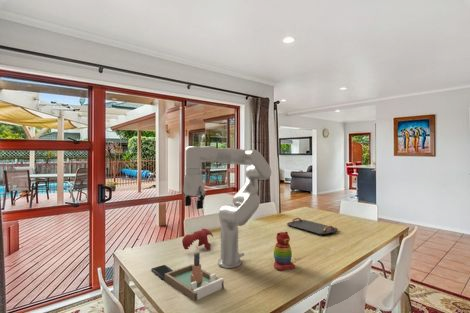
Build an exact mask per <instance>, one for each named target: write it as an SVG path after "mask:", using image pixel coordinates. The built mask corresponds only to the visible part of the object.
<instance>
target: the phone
mask: <svg viewBox="0 0 470 313" xmlns="http://www.w3.org/2000/svg"><path fill="white" fill-rule="evenodd" d="M150 270H151V272H152V273H153V274H154V273H155V274H154V275H156V276H157V277H158V278H159V279H160V278H161V279H160V280H162V281H163V280H164V281H165V279H164V274H165V273H168V272H171V271H174V270H173V269H171V267H169V266H167V265H166V264H163V265H158V266H155V267H152V268H151V269H150ZM165 282H166V281H165Z"/></svg>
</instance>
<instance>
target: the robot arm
mask: <svg viewBox="0 0 470 313" xmlns="http://www.w3.org/2000/svg"><path fill="white" fill-rule="evenodd" d="M202 162H210V163H220V164H228V165H243V166H247V167H246V169H245V182H244V184H243V185H242V186H241V188H240V189H239V190H238V191H237V192H236V193H235V194H234V196H233V198H232V204H231V203H230V204H226V203H225V204H224V205H222V206H221V207H220V208H219V211H218V218H219V224H220V258H219V259H218V260H217V264H218V266H219V267H221V268H224V269H233V268H234V269H235V268H238V267H239V266H241V264H242V260H241V259H240V258H242V257H244V256H245V252H240V253H239V227H242V226H244V225H246V224H247V223H248V222H249V220H250V219H251V218H252V217H253V216H254V215H255V212H256V211H257V210H258V209H259V207H260V204H261V199H260V196H259V195H258V194H257V193H258V191H259V183H258V182H259V181H258V180H262V181H263V180H264V181H265V180H268V179H270V177H271V176H272V168H271V166H270V165H269V162H267V160H266V159H265V158H264V156H263V154H261V152H259V151H258V150H257V149H239V148H234V147H233V148H232V147H221V148H220V147H219V148H218V147H217V148H216V147H214V146H211V145H207V146H205V145H203V146H198V145H195V146H190V145H189V146H187V147H185V175H184V180H183V181H184V182H183V188H182V191H183V197H184V206H185V207H188V206H190V207H191V205H192V197H196V199H197V200H196V210H200V209H203V208H204V200H205V197H206V193H207V191H206V190H205V189H204V182H203V175H202Z"/></svg>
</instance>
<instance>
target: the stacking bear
mask: <svg viewBox="0 0 470 313" xmlns="http://www.w3.org/2000/svg"><path fill="white" fill-rule="evenodd" d="M275 237H276V238H275V239H276V243H275V245H274V248H273V258H274V262H273V267H274V269H275V270H276V271H279V272H280V271H281V272H282V271H284V270H295V269H296V265H295V263H293V262H291V261H292V258H293V257H292V254H293V253H292V247H291V244H290V243H289V242H290V240H291V238H290V237H291V236H290V235H289V232H288V231H284V232H283V231H282V232H281V231H280V232H277V233H276V236H275Z"/></svg>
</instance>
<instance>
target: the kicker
mask: <svg viewBox="0 0 470 313" xmlns="http://www.w3.org/2000/svg"><path fill="white" fill-rule="evenodd" d="M200 257H201V256H200V252H194V253H193V264H192V275H191V283H192V282H194V281H196V282H197V284H198V283H201V282H203V273H202V272H201V269H202V264H201V263H200Z"/></svg>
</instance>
